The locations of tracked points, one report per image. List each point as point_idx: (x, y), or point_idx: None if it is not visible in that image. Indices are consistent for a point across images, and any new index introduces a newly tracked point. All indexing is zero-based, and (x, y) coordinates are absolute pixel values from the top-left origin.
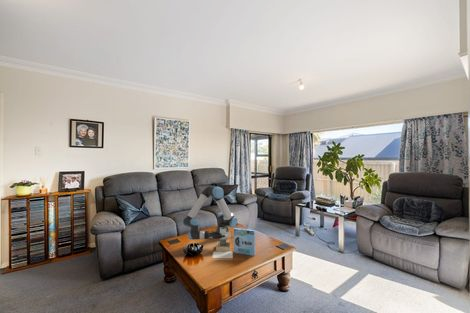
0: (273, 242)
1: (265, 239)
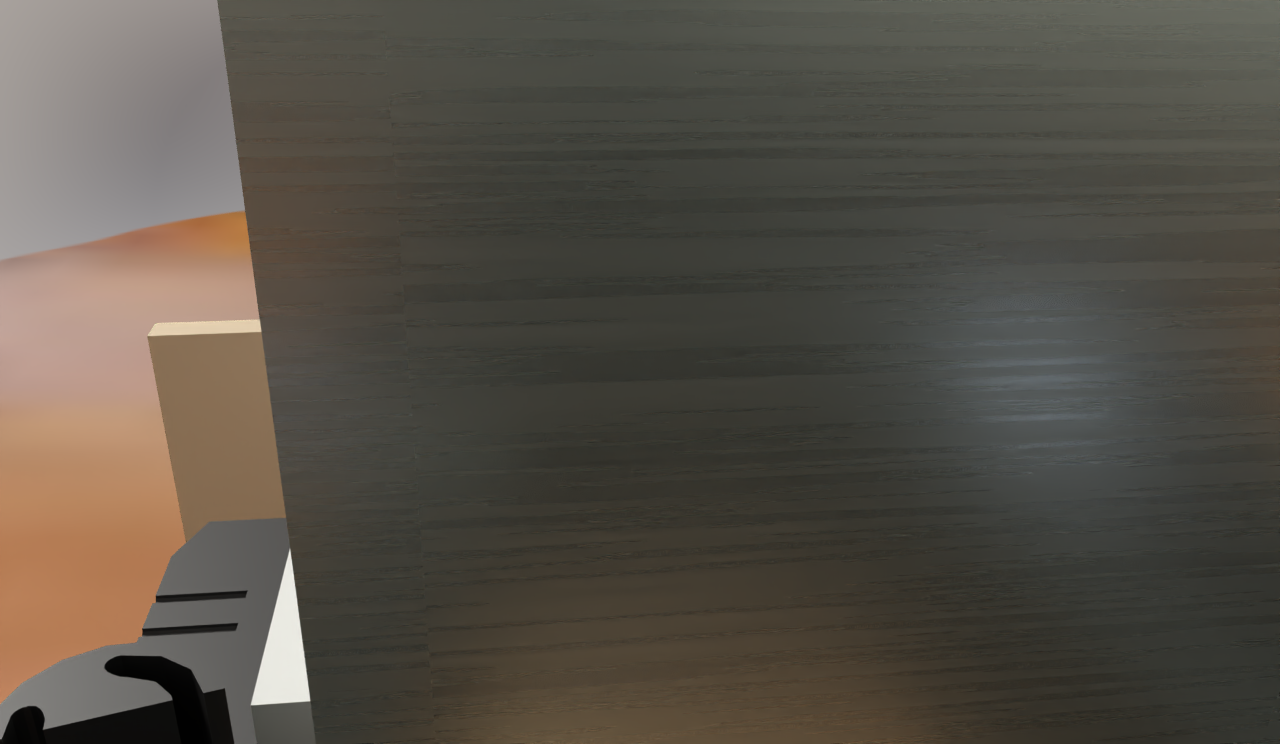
0: (246, 245)
1: (42, 301)
